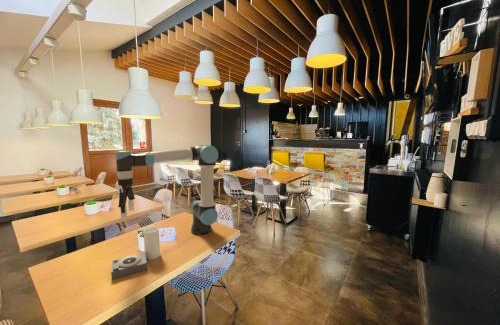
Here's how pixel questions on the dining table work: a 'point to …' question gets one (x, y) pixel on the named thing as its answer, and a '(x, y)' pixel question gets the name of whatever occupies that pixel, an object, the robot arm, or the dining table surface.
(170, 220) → the dining table surface
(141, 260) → the camera body
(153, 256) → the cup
